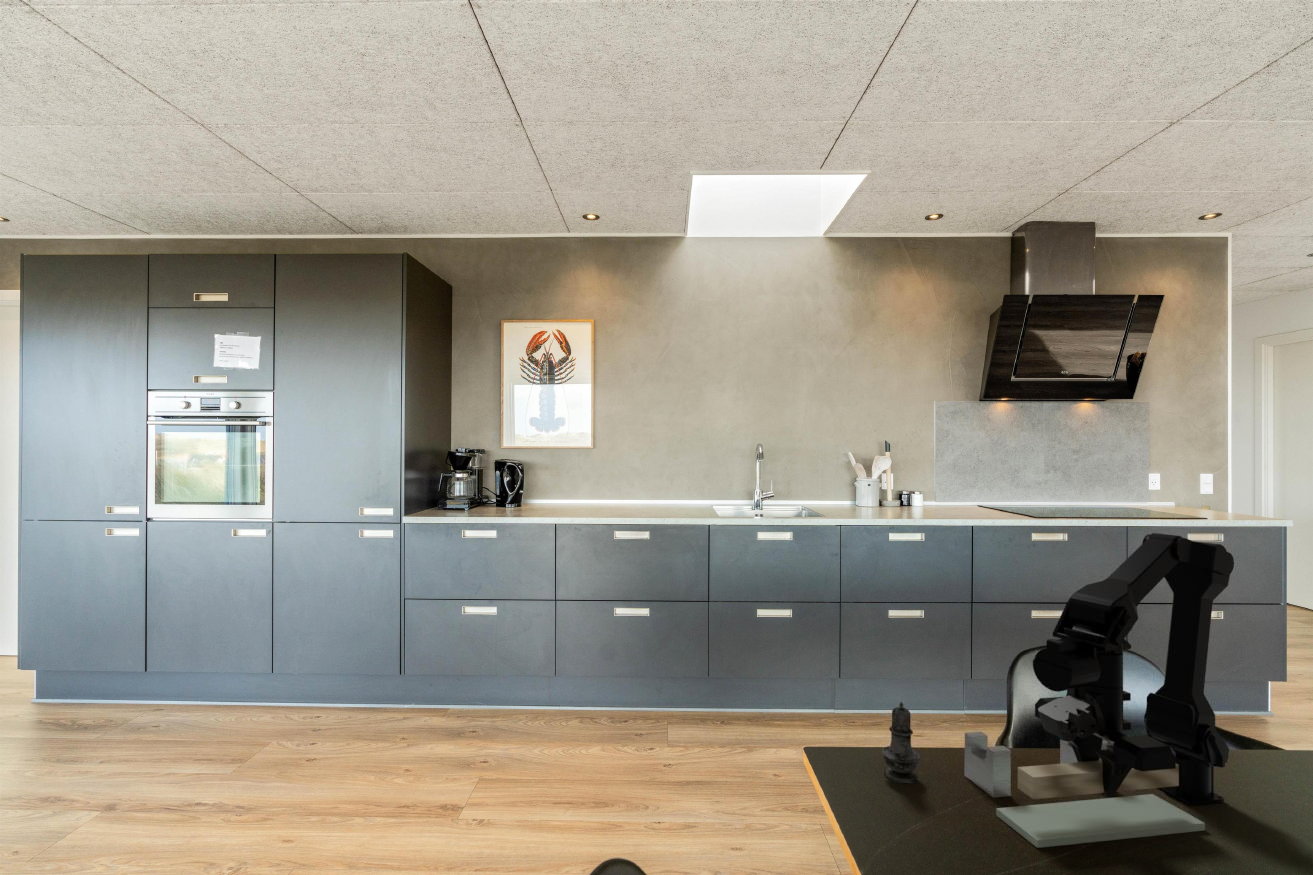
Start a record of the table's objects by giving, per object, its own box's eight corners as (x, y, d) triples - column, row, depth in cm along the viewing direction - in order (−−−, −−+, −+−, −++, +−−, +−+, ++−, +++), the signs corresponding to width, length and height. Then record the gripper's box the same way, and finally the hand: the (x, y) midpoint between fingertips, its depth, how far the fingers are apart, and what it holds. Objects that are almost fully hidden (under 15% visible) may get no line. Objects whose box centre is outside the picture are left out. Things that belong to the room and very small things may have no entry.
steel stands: (1075, 766, 111) (1075, 724, 112) (1110, 786, 105) (1110, 742, 105) (964, 775, 108) (964, 732, 108) (993, 797, 101) (993, 751, 101)
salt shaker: (923, 786, 104) (923, 710, 104) (884, 782, 105) (885, 706, 105) (916, 769, 110) (916, 696, 110) (879, 765, 111) (880, 693, 111)
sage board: (1152, 800, 101) (1152, 793, 101) (1204, 830, 93) (1204, 822, 93) (996, 815, 96) (996, 808, 96) (1037, 847, 88) (1037, 840, 88)
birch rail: (1159, 775, 98) (1159, 755, 98) (1178, 785, 95) (1178, 764, 95) (1017, 788, 94) (1017, 766, 94) (1033, 799, 91) (1033, 777, 91)
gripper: (1004, 663, 103) (1004, 763, 102) (1106, 709, 84) (1106, 832, 84) (1066, 660, 105) (1066, 758, 104) (1179, 704, 86) (1179, 824, 86)
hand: (1099, 790), depth 94 cm, fingers closed on birch rail, 3 cm apart
